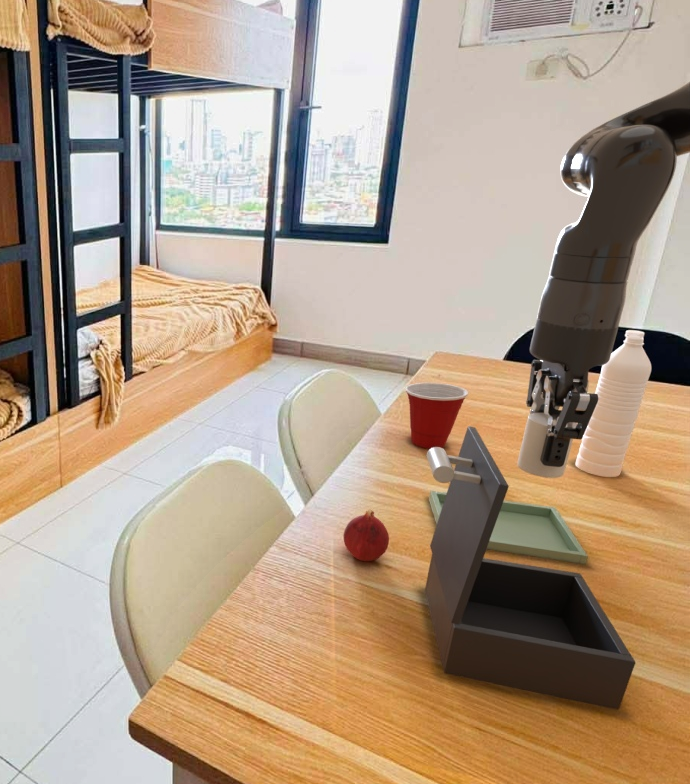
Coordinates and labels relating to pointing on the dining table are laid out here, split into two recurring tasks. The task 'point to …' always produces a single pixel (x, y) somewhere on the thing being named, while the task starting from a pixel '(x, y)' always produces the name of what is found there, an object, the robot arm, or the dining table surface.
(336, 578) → the dining table surface
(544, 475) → the white cylinder
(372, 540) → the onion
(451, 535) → the lid
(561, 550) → the drip tray
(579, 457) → the water bottle
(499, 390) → the dining table surface
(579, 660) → the dark gray hinged box
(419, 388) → the plastic cup
